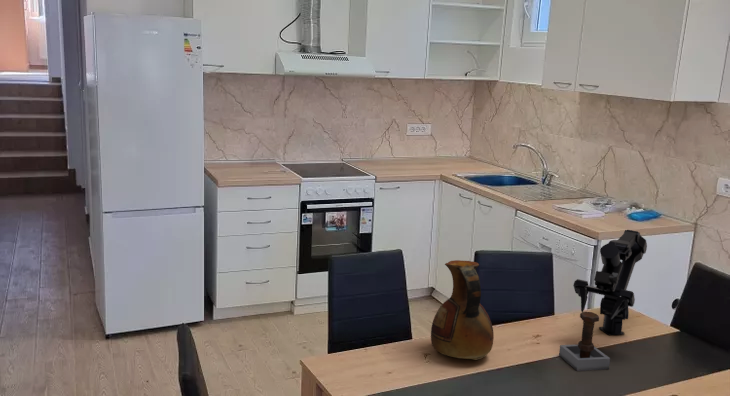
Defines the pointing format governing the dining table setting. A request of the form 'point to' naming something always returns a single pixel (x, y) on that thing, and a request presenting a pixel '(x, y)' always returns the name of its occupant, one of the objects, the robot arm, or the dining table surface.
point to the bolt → (587, 333)
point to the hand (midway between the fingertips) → (596, 314)
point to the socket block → (593, 363)
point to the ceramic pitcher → (463, 317)
